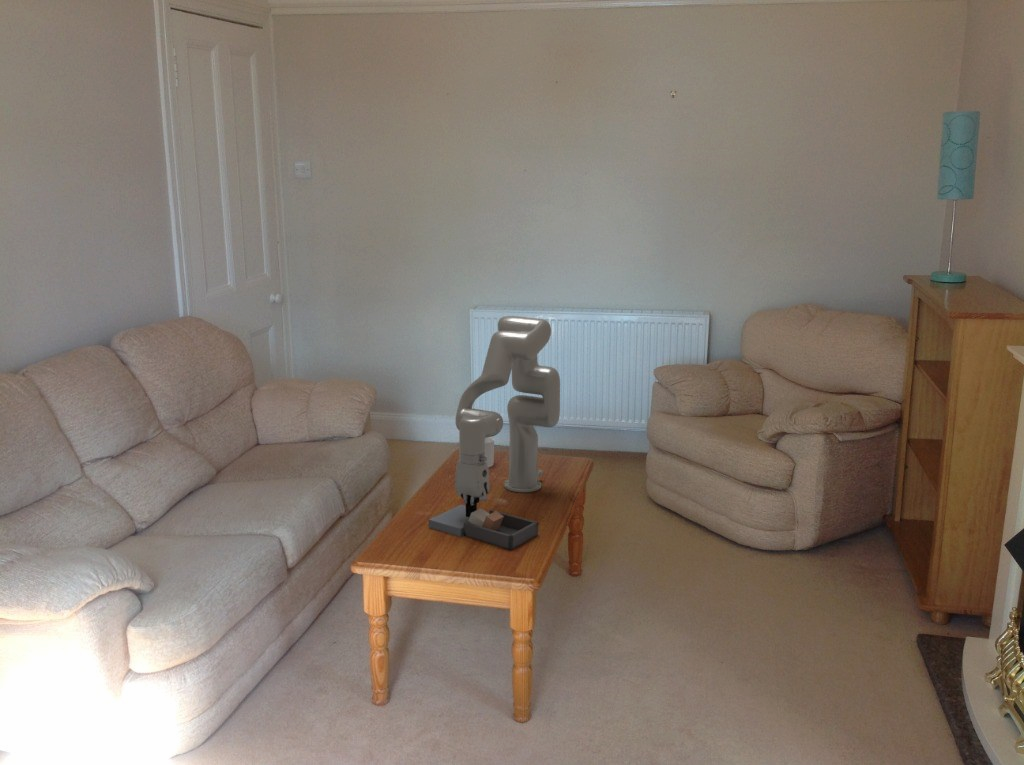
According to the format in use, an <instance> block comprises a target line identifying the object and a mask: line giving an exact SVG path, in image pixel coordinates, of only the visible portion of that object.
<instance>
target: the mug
mask: <svg viewBox="0 0 1024 765" xmlns="http://www.w3.org/2000/svg"><path fill="white" fill-rule="evenodd" d="M485 457H487V461H486V463H487V466H488V469H489V468H492V467H493V466H494V464H495V460H494V459H495V458H494V457H495V439H494V438H493V437H488V438H485ZM484 462H485V461H484Z"/></svg>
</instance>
